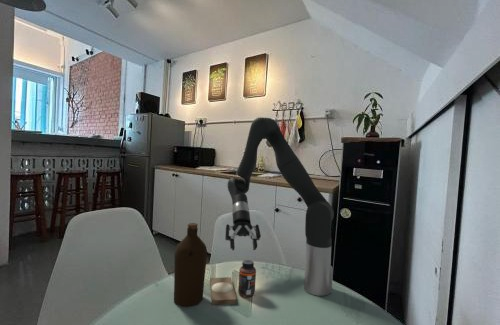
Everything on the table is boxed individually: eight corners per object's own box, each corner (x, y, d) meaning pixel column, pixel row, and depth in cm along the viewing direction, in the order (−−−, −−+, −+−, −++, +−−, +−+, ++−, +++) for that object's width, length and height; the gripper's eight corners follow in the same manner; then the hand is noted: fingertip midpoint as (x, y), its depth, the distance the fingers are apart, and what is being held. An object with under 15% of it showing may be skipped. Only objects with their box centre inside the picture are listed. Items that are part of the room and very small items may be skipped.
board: (230, 281, 95) (230, 276, 95) (236, 303, 80) (236, 298, 80) (209, 281, 94) (210, 277, 94) (211, 305, 78) (212, 300, 78)
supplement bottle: (253, 299, 83) (254, 265, 83) (236, 296, 84) (238, 263, 84) (256, 290, 89) (257, 259, 89) (240, 288, 90) (241, 257, 90)
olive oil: (210, 301, 80) (214, 225, 81) (180, 312, 73) (185, 229, 74) (194, 288, 88) (198, 219, 89) (166, 297, 81) (170, 222, 82)
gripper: (225, 209, 103) (227, 244, 91) (258, 209, 106) (263, 244, 94) (223, 218, 108) (225, 254, 96) (255, 219, 111) (259, 253, 99)
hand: (244, 249), depth 95 cm, fingers open, 8 cm apart
